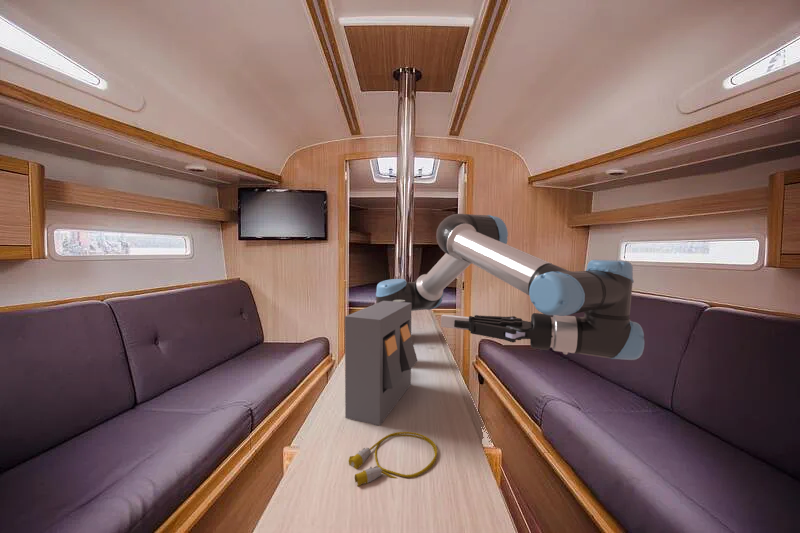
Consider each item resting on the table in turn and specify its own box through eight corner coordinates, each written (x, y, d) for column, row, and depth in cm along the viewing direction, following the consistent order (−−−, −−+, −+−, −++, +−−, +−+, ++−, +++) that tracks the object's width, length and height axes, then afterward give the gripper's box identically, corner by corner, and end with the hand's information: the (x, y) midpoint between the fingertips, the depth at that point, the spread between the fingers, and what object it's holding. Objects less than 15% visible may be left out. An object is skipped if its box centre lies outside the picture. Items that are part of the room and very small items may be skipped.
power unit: (383, 379, 85) (383, 300, 83) (410, 384, 82) (411, 302, 80) (345, 417, 66) (345, 316, 64) (379, 425, 63) (379, 319, 62)
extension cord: (349, 441, 59) (349, 431, 59) (429, 434, 61) (429, 424, 61) (347, 491, 47) (347, 478, 47) (447, 480, 49) (447, 468, 49)
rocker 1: (394, 377, 70) (386, 334, 70) (403, 377, 69) (395, 333, 69) (383, 388, 64) (374, 341, 65) (393, 388, 64) (384, 340, 64)
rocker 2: (410, 362, 79) (399, 324, 80) (418, 360, 78) (407, 322, 79) (402, 371, 74) (391, 330, 74) (411, 369, 73) (399, 328, 73)
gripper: (553, 360, 59) (434, 344, 68) (547, 340, 72) (447, 328, 80) (555, 322, 59) (435, 310, 67) (549, 308, 71) (447, 300, 79)
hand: (441, 320), depth 74 cm, fingers closed
